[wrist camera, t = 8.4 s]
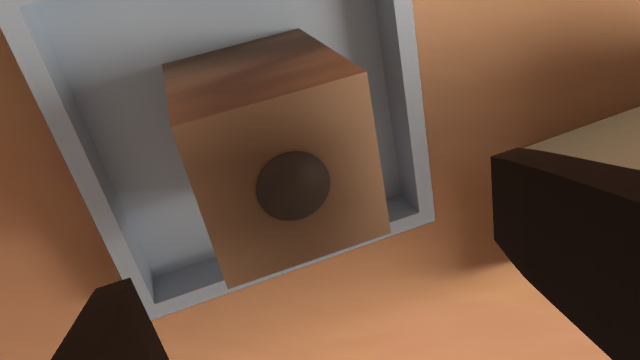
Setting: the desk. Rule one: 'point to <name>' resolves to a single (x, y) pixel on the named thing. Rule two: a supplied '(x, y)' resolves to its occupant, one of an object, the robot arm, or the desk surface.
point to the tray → (154, 126)
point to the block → (277, 152)
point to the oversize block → (601, 141)
